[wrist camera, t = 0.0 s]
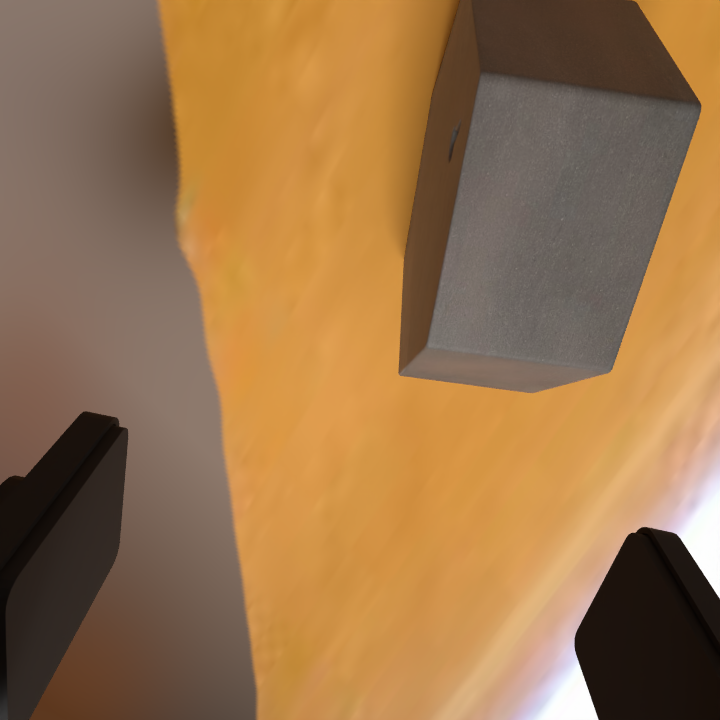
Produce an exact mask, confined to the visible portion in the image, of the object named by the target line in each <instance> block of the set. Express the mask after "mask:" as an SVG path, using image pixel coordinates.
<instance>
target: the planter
mask: <svg viewBox="0 0 720 720" xmlns="http://www.w3.org/2000/svg"><path fill="white" fill-rule="evenodd" d="M700 112H701V103H700V101H699V100H698V98H697V97H696V95H695V93H694V92H693V90H692V89H691V87H690V86H689V84H688V82H687V81H686V79H685V78H684V76H683V75H682V73H681V71H680V70H679V68H678V67H677V65H676V64H675V62H674V61H673V59H672V57H671V56H670V54H669V53H668V51H667V50H666V48H665V46H664V45H663V43H662V42H661V40H660V39H659V37H658V35H657V34H656V32H655V31H654V29H653V28H652V26H651V24H650V23H649V21H648V20H647V18H646V17H645V15H644V14H643V12H642V10H641V9H640V7H639V6H638V4H637V3H636V2H635V1H630V0H460V3H459V6H458V10H457V13H456V17H455V20H454V23H453V27H452V30H451V33H450V37H449V40H448V44H447V47H446V50H445V54H444V57H443V61H442V64H441V67H440V71H439V74H438V77H437V81H436V84H435V87H434V91H433V94H432V98H431V104H430V110H429V116H428V122H427V128H426V133H425V139H424V145H423V151H422V157H421V163H420V169H419V175H418V181H417V187H416V192H415V198H414V204H413V210H412V216H411V222H410V228H409V234H408V239H407V245H406V251H405V257H404V269H403V291H402V313H401V334H400V356H399V375H400V376H406V377H414V378H421V379H429V380H436V381H444V382H451V383H459V384H466V385H474V386H481V387H489V388H496V389H504V390H511V391H519V392H527V393H535V392H539V391H543V390H547V389H550V388H554V387H558V386H562V385H565V384H569V383H573V382H577V381H580V380H584V379H588V378H592V377H595V376H599V375H603V374H606V373H609V372H610V371H611V370H612V368H613V365H614V362H615V360H616V357H617V354H618V351H619V348H620V345H621V342H622V339H623V336H624V333H625V331H626V328H627V325H628V322H629V319H630V316H631V313H632V310H633V307H634V304H635V302H636V299H637V296H638V293H639V290H640V287H641V284H642V281H643V278H644V276H645V273H646V270H647V267H648V264H649V261H650V258H651V255H652V252H653V249H654V247H655V244H656V241H657V238H658V235H659V232H660V229H661V226H662V223H663V220H664V218H665V215H666V212H667V209H668V206H669V203H670V200H671V197H672V194H673V191H674V189H675V186H676V183H677V180H678V177H679V174H680V171H681V168H682V165H683V163H684V160H685V157H686V154H687V151H688V148H689V145H690V142H691V139H692V136H693V133H694V131H695V128H696V125H697V122H698V119H699V116H700Z"/></svg>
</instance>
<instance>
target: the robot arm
mask: <svg viewBox="0 0 720 720" xmlns="http://www.w3.org/2000/svg"><path fill="white" fill-rule="evenodd" d="M127 445H128V429H127V428H123V427H119V421H118V419H117V418H115V417H111V416H106V415H101V414H96V413H91V412H83V413H82V414H80V415H79V416H78V418H77V419H76V420H75V421H74V422H73V423H72V425H70V427H69V428H68V429H67V430H66V431H65V432H64V433H63V435H62V436H61V437H60V438H59V439H58V440H57V441H56V443H55V444H54V445H53V446H52V447H51V448H50V449H49V450H48V452H47V453H46V454H45V455H44V456H43V458H42V459H41V460H40V461H39V462H38V463H37V464H36V465H35V466H34V468H33V469H32V470H31V471H30V472H29V473H28V474H27V476H26V477H20V476H12V477H9V478H8V479H7V480H5V481H4V482H3V483H2V484H1V485H0V720H29V719H30V717H31V715H32V713H33V711H34V710H35V708H36V706H37V704H38V702H39V700H40V699H41V697H42V695H43V693H44V691H45V689H46V687H47V686H48V684H49V682H50V680H51V678H52V677H53V675H54V673H55V671H56V669H57V667H58V665H59V664H60V662H61V660H62V658H63V656H64V654H65V653H66V651H67V649H68V647H69V645H70V643H71V641H72V640H73V638H74V636H75V634H76V632H77V630H78V629H79V627H80V625H81V623H82V621H83V619H84V617H85V616H86V614H87V612H88V610H89V608H90V606H91V605H92V603H93V601H94V599H95V597H96V595H97V593H98V591H99V590H100V588H101V586H102V584H103V582H104V580H105V579H106V577H107V575H108V573H109V571H110V569H111V568H112V566H113V564H114V561H115V559H116V556H117V553H118V549H119V543H120V531H121V519H122V505H123V494H124V482H125V469H126V456H127ZM575 652H576V655H577V658H578V661H579V664H580V667H581V670H582V673H583V676H584V678H585V681H586V684H587V687H588V690H589V693H590V696H591V699H592V702H593V705H594V708H595V710H596V713H597V716H598V719H599V720H720V599H719V597H718V596H717V594H716V593H715V591H714V589H713V588H712V586H711V585H710V583H709V582H708V580H707V579H706V577H705V576H704V574H703V573H702V571H701V570H700V568H699V567H698V565H697V563H696V562H695V560H694V559H693V557H692V556H691V554H690V553H689V551H688V550H687V548H686V547H685V545H684V544H683V542H682V541H681V539H680V538H679V537H678V536H677V534H674V533H672V532H667V531H662V530H657V529H653V528H648V527H642V528H640V529H639V530H638V531H637V532H636V533H631V534H629V535H628V536H627V538H626V539H625V541H624V543H623V545H622V547H621V549H620V551H619V553H618V554H617V556H616V558H615V560H614V562H613V564H612V566H611V568H610V569H609V571H608V573H607V575H606V577H605V579H604V581H603V583H602V585H601V586H600V588H599V590H598V592H597V594H596V596H595V598H594V600H593V601H592V603H591V605H590V607H589V609H588V611H587V613H586V615H585V617H584V618H583V620H582V622H581V624H580V626H579V628H578V630H577V632H576V635H575Z"/></svg>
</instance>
